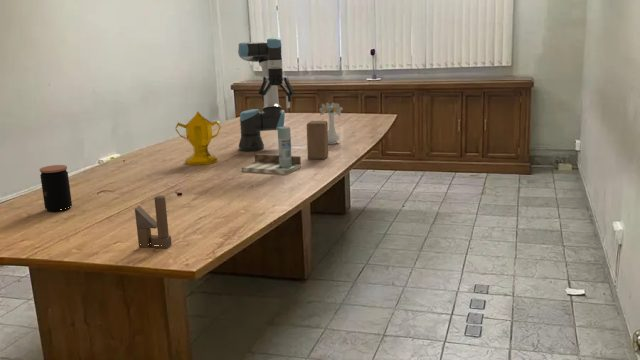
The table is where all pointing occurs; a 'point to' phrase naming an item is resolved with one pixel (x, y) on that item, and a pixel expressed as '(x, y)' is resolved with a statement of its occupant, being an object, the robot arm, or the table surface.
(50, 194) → the coffee jar
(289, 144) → the spray paint can
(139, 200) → the table surface
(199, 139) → the trophy cup
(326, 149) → the wooden block
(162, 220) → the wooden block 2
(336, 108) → the flower vase
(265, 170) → the marking board
